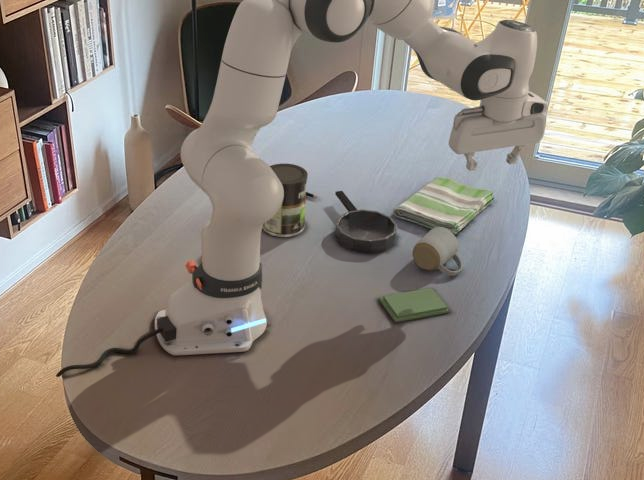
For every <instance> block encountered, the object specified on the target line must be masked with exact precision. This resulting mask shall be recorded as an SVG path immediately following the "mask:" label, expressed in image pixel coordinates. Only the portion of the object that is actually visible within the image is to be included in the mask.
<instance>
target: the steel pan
mask: <svg viewBox="0 0 644 480" xmlns="http://www.w3.org/2000/svg"><path fill="white" fill-rule="evenodd" d="M334 192H335V193H334V194H335V196H336V197H337V199H338V200H339V201H340V202H341V204H342V205H343V206H344V208H345V209H346V210H347V212H345V213H343V214H341V215H340V216H338V218H337V220H336V224H335V234H334V238H335V239H336V242H338V244H339V245H340V246H341V247H343V248H345V249H347V250H349V251H351V252H354V253H360V254H377V253H383V252H386V251H388V250H389V249H390V248H392V247H394V245H395V242H396V237H397V228H398V223H396V222H395V220H394V219H393V218H392V217H391V216H390V215H388V214H385V213H383V212H380V211H377V210H369V209H357V207H356V206H355V205H354V203H353V202H352V201H351V200H350V199H349V197H348V196H347V195H346V194H345V192H344V191H343V190H336V191H334Z"/></svg>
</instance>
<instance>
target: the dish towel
mask: <svg viewBox="0 0 644 480" xmlns="http://www.w3.org/2000/svg"><path fill="white" fill-rule="evenodd" d="M493 193H494V192H493V191H492V190H488V189H480V188H476V187H472V186H467V185H464V184H462V183H460V182H458V181H455V180H453V179H451V178H448V177H444V176H443V177H442V176H436V177H435V178H433V180H431V181H429V183H427V184H425V185H424V186H423V187H421V188H420V189H419V190H418V191H417V192H415V193H414V194H411V195H410V196H409V197H408V198H407V199H405V200H404V201H403V202H402V203H401V204H399V205H397V206H395V207H394V208H393V211H392V212H393V213H392V214H393V215H394V216H395V217H396V218H398V219H402V220H404V221H408V222H412V223H414V224H417V225H420V226H422V227H425V228H427V229H430V230H432V229H433V228H435V227H443V228H446V229H448V230H449V231H451V232H452V233H453V234H454V236H455V235H457V234H458V233H459V232H460V231H461V230H462V229H464V228H465V227H466V226H467V225H468V224H469V223H470V222H472V220H473V219H474V218H475V217H477V215H478V214H480V213H481V212H482V211H484V210H485V209H486V208H487V207H488V206H489V205H490V204H491V203H492V202H493V201H494V200H495V196H493Z"/></svg>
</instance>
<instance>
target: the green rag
mask: <svg viewBox="0 0 644 480" xmlns="http://www.w3.org/2000/svg"><path fill="white" fill-rule="evenodd" d="M379 302H380V303H381V304H382V306H383V308H384V309H385V310H386V312H387V313H388V314H389V316H390V317H391V318H392V320H393V321H394V323H400V322H406V321H411V320H416V319H422V318H427V317H433V316H439V315H443V314H449V310H450V309H449V308H448V306H447V305H446V303H445V302H444V301H443V300H442V298H441V297H440V296H439V295H438V293H437V292H436V291H435V290H434V289H433V287H428V288H427V287H426V288H423V289H417V290H411V291H405V292H400V293H395V294H388V295H383V296H381V297H379Z"/></svg>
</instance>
